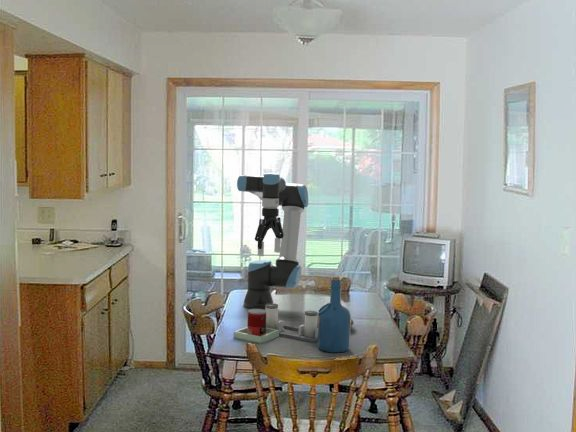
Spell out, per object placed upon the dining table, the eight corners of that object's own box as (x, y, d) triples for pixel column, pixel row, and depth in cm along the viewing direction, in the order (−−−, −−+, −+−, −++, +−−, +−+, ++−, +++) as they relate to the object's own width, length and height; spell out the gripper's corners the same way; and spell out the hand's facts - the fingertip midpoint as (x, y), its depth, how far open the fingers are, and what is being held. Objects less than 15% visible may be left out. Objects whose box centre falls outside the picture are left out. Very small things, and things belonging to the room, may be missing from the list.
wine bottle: (347, 344, 289) (350, 273, 286) (351, 354, 275) (354, 280, 272) (315, 343, 288) (317, 273, 285) (317, 353, 275) (320, 279, 272)
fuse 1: (263, 329, 307) (263, 305, 306) (269, 326, 312) (269, 303, 311) (274, 331, 305) (274, 307, 303) (280, 328, 310) (280, 304, 308)
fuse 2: (301, 337, 297) (302, 312, 296) (308, 334, 302) (308, 309, 300) (312, 339, 294) (313, 314, 293) (319, 336, 299) (320, 312, 297)
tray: (233, 338, 292) (233, 331, 292) (252, 331, 304) (252, 324, 304) (260, 344, 285) (260, 337, 285) (278, 336, 297) (279, 330, 297)
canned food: (263, 339, 290) (264, 313, 289) (245, 337, 292) (245, 312, 290) (267, 334, 298) (268, 309, 296) (249, 332, 299) (250, 307, 298)
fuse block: (253, 330, 306) (253, 320, 305) (269, 324, 317) (269, 314, 316) (313, 342, 289) (314, 332, 289) (329, 336, 300) (329, 326, 300)
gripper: (261, 209, 298) (260, 258, 300) (292, 206, 319) (290, 251, 321) (247, 208, 302) (246, 256, 304) (278, 205, 323) (277, 250, 325)
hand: (269, 254), depth 312 cm, fingers open, 13 cm apart
